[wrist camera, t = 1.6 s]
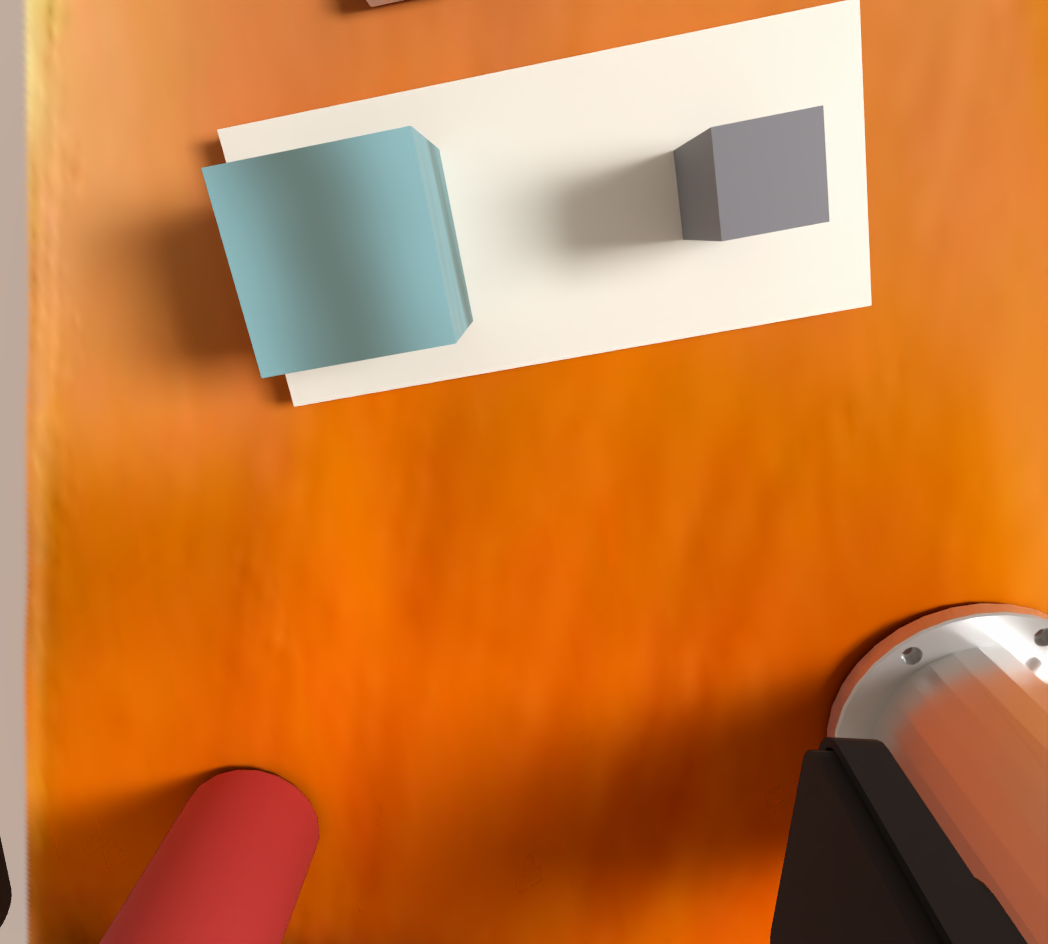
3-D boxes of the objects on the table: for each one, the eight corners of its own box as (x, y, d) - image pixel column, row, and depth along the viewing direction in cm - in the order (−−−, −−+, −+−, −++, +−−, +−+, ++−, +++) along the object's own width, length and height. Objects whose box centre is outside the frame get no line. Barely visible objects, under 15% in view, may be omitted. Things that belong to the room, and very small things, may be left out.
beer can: (164, 790, 37) (-7, 1043, 25) (278, 742, 36) (154, 983, 24) (236, 886, 38) (107, 1163, 27) (347, 843, 37) (262, 1112, 26)
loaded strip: (844, 8, 26) (956, -74, 19) (857, 302, 28) (958, 324, 22) (230, 134, 27) (125, 100, 20) (303, 400, 30) (233, 449, 23)
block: (439, 149, 26) (410, 125, 20) (473, 320, 28) (455, 343, 22) (274, 182, 26) (201, 168, 21) (318, 348, 28) (261, 378, 23)
